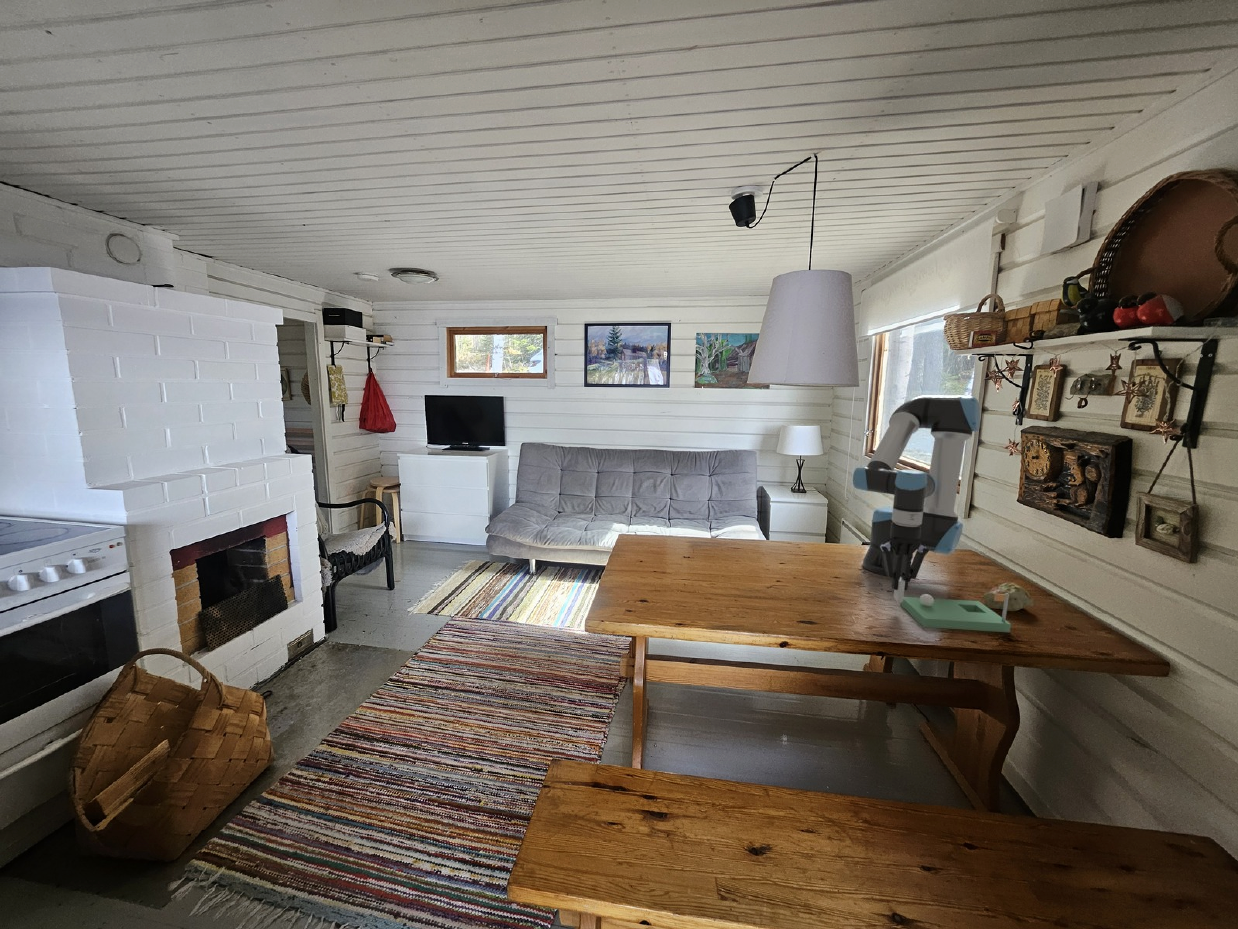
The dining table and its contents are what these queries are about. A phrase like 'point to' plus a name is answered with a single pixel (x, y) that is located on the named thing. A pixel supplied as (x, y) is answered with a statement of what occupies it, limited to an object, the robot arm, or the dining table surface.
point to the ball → (926, 600)
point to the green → (958, 614)
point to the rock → (1016, 597)
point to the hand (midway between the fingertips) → (898, 599)
